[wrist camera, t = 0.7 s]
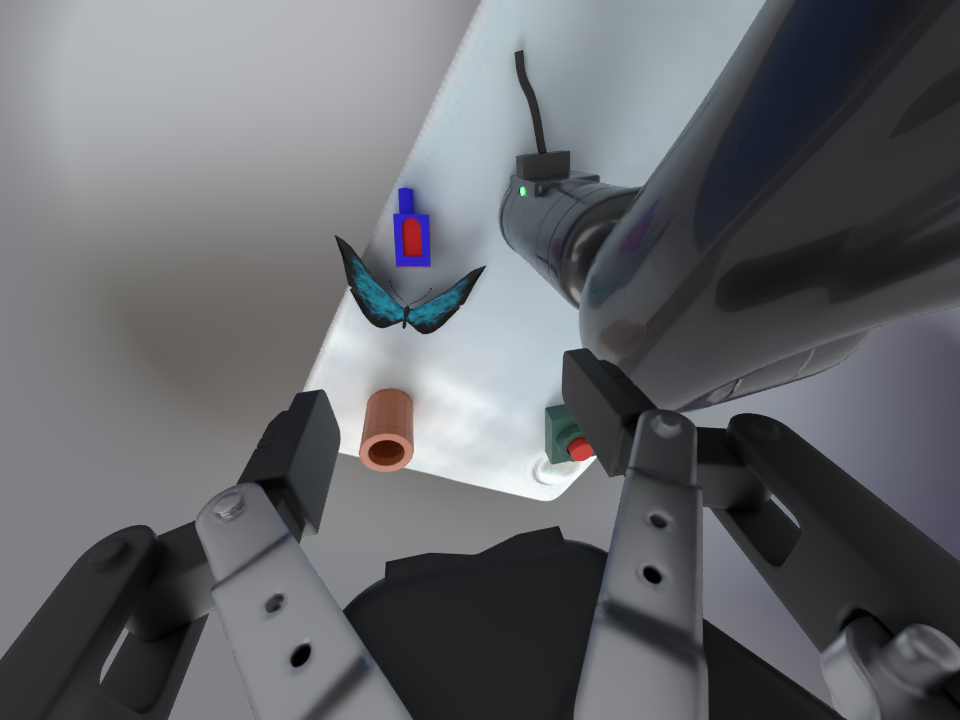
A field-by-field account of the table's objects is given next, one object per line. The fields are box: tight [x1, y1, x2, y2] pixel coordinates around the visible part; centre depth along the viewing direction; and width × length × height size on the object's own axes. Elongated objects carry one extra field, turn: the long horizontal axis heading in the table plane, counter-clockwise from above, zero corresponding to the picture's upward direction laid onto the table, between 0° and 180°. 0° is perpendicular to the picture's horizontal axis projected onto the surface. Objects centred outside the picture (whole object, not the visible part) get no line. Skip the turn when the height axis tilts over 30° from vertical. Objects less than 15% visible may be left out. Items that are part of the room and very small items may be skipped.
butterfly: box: [335, 235, 486, 334], centre depth 42 cm, size 17×5×10 cm
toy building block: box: [393, 188, 431, 267], centre depth 38 cm, size 4×4×8 cm
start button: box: [568, 437, 593, 461], centre depth 56 cm, size 4×4×2 cm
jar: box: [359, 389, 414, 472], centre depth 49 cm, size 7×7×10 cm
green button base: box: [545, 405, 596, 465], centre depth 59 cm, size 10×8×5 cm
